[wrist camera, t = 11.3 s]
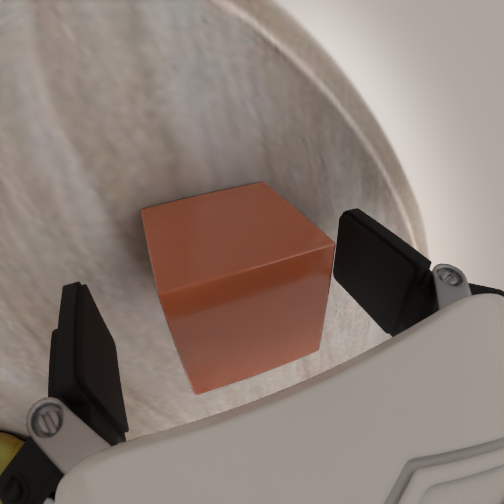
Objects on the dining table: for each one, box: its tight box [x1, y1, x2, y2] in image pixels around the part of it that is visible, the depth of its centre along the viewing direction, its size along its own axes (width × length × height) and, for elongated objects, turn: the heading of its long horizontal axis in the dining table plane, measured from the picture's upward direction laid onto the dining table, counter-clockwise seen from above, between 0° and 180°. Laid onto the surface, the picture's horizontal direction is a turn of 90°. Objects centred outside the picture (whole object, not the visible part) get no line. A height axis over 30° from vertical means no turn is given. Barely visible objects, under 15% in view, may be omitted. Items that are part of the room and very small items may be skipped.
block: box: [141, 182, 335, 395], centre depth 10 cm, size 4×4×4 cm
